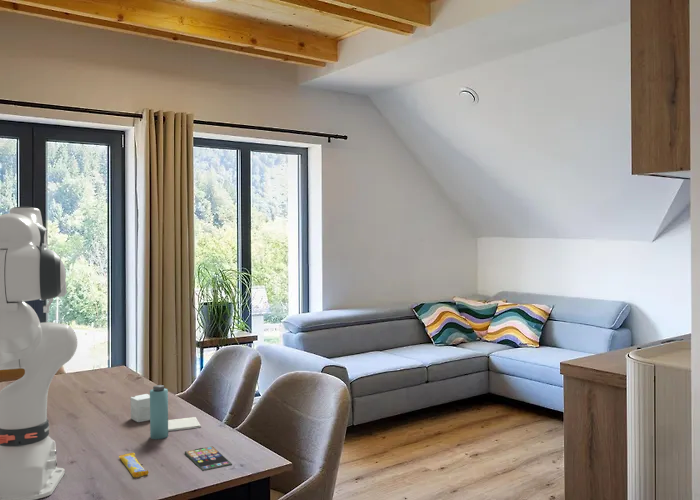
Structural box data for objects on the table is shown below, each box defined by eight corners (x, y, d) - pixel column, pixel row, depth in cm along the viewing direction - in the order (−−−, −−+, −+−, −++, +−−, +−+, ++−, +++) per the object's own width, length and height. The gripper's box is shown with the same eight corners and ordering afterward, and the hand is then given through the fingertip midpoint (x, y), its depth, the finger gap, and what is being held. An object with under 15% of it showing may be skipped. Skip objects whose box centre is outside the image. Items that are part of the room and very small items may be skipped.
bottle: (169, 437, 192) (168, 387, 191) (151, 440, 190) (150, 389, 189) (167, 432, 196) (166, 383, 196) (149, 435, 194) (148, 385, 194)
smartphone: (202, 472, 165) (202, 468, 165) (184, 455, 178) (184, 451, 178) (232, 466, 169) (232, 461, 169) (212, 449, 182) (212, 445, 182)
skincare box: (155, 419, 211) (155, 396, 211) (137, 422, 207) (137, 400, 207) (147, 415, 215) (147, 393, 215) (130, 418, 211) (129, 396, 211)
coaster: (200, 427, 202) (200, 425, 202) (168, 431, 198) (168, 429, 198) (195, 418, 211) (195, 416, 211) (164, 422, 207) (164, 420, 207)
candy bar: (150, 477, 162) (149, 470, 162) (132, 481, 160) (132, 473, 160) (134, 457, 177) (134, 450, 176) (118, 460, 174) (118, 453, 174)
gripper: (-18, 267, 171) (-16, 317, 173) (65, 265, 179) (66, 313, 181) (-15, 263, 177) (-13, 312, 179) (66, 262, 185) (67, 309, 187)
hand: (27, 313), depth 180 cm, fingers open, 8 cm apart
